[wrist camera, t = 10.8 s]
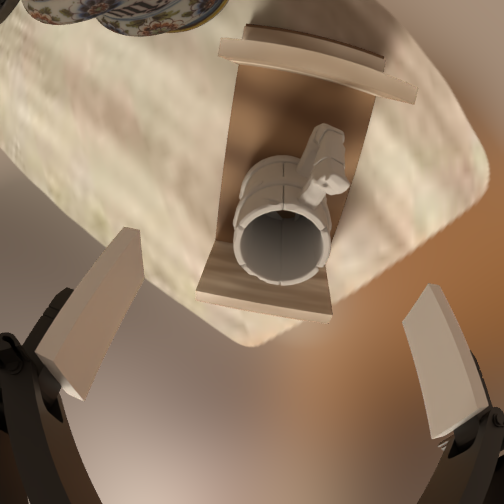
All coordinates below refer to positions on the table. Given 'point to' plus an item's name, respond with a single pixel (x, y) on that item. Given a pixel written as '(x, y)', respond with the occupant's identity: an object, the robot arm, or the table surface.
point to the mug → (291, 199)
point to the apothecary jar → (128, 14)
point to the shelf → (289, 146)
